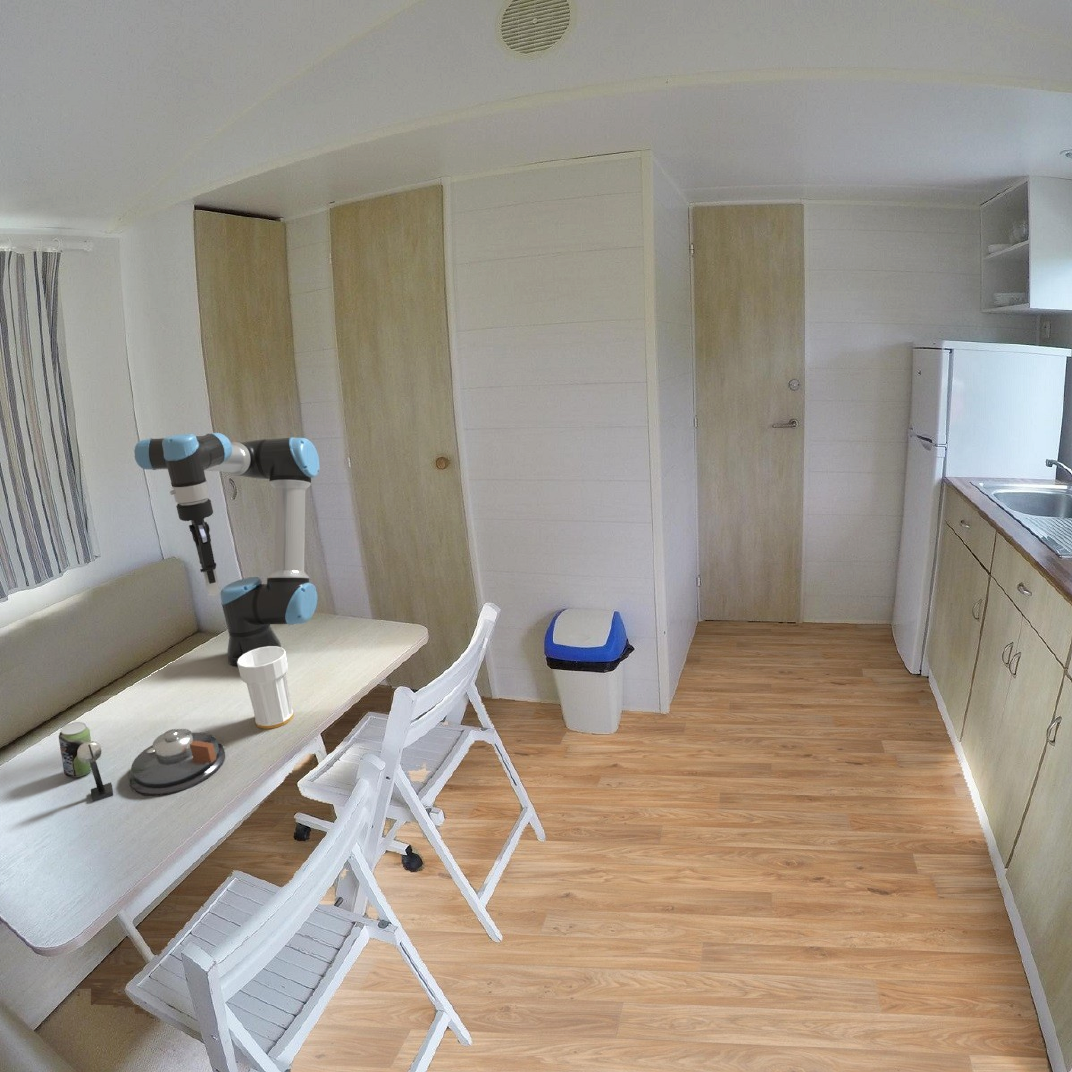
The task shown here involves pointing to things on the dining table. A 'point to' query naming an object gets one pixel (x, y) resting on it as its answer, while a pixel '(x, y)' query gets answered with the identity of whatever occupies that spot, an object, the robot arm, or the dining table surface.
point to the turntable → (176, 764)
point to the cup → (267, 685)
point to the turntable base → (180, 786)
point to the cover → (173, 746)
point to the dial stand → (94, 769)
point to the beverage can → (74, 748)
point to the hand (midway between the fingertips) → (214, 594)
